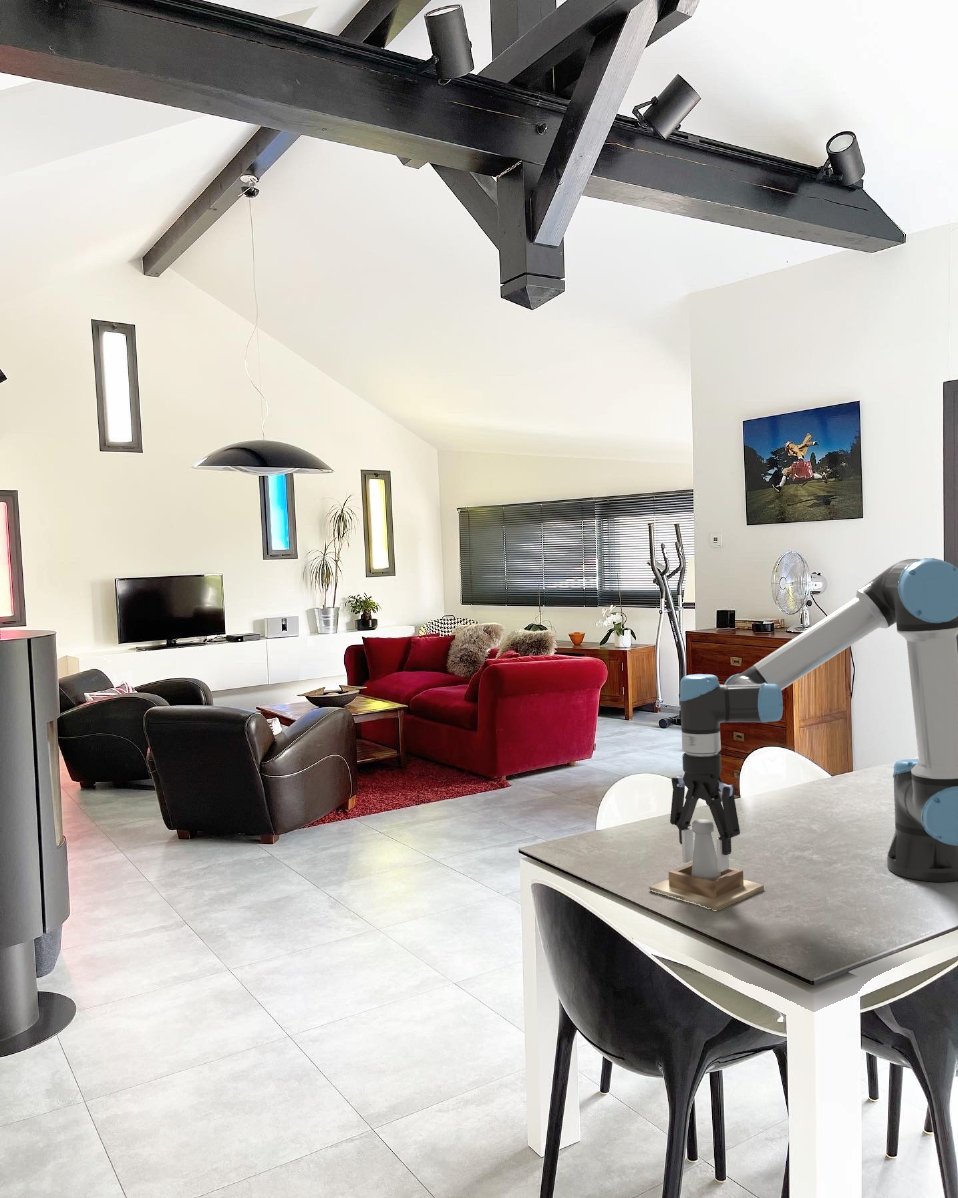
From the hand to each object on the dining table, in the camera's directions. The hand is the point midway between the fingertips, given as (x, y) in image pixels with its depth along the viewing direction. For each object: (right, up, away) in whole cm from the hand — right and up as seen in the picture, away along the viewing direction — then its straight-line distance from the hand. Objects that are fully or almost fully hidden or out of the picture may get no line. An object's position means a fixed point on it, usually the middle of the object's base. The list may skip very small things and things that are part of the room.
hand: (705, 865), depth 186 cm
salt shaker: (0, -4, 0) cm, 4 cm away
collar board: (0, -5, 0) cm, 5 cm away
